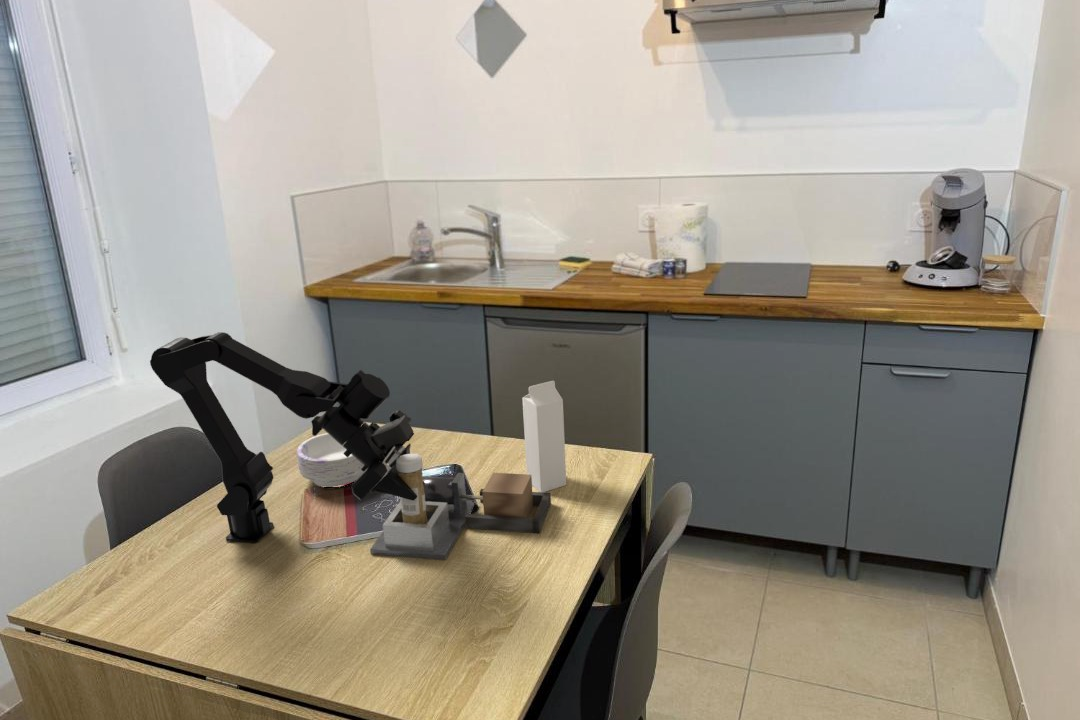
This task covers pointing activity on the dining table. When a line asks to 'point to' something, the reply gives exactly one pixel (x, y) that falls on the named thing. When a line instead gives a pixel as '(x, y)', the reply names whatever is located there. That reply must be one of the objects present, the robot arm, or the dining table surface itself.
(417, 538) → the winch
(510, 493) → the crate bay
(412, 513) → the sprinkles bottle
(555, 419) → the milk
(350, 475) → the paper bowls
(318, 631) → the dining table surface
